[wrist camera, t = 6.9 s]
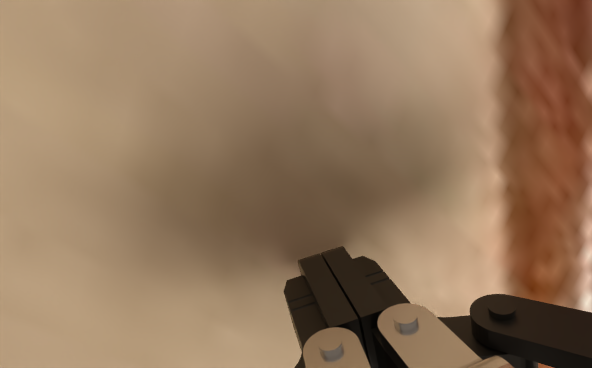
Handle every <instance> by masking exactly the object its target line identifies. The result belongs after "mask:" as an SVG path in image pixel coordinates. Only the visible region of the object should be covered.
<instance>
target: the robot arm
mask: <svg viewBox="0 0 592 368" xmlns="http://www.w3.org/2000/svg"><path fill="white" fill-rule="evenodd" d="M298 264H299V268H300V272H301V276H299V277H296V278H293V279H290V280H287V282H286V286H285V289H284V294H285V298H286V301H287V305H288V308H289V312H290V315H291V319H292V323H293V326H294V330H295V333H296V336H297V339H298V342H299V345H300V348H301V351H302V355H301V358H300V360H299V362H298V364H297V365H296V366H295V368H538V363H541V364H544V365H548V366H551V367H554V368H592V313H591V312H586V311H581V310H577V309H572V308H567V307H563V306H558V305H553V304H548V303H544V302H539V301H534V300H529V299H525V298H520V297H515V296H511V295H505V294H492V295H486V296H483V297H480V298H478V299H477V300H475V301H474V302H473V303H472V305H471V307H470V315H469V316H459V317H445V318H444V317H436V316H435V315H434V314H433V313H432V312H431V311H430V310H428V309H427V308H425V307H423V306H420V305H417V304H411V303H410V302H409V301H408V299H407V298H406V297H405V296H404V295H403V293H402V292H401V291H400V290H399V289H398V288H397V286H396V285H395V284H394V283H393V282H392V280H391V279H389V277H388V276H387V275H386V273H385V272H383V270H382V269H381V267H380V266H379V265H378V264H377V263H376V262H375V261H373V260H371V259H369V258H367V257H364V256H361V257H358V258H355V259H352V258H351V257H350V255H349V254H348V253H347V251H346V250H345V248H344V247H343V246H342V247H338V248H335V249H332V250H329V251H326V252H323V253H321V255H320V254H317V255H313V256H310V257H307V258H304V259H301V260H298Z"/></svg>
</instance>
